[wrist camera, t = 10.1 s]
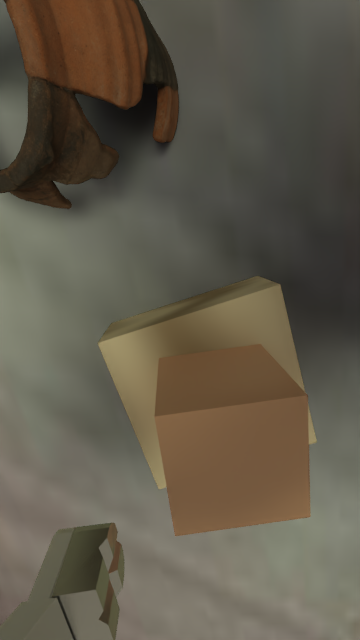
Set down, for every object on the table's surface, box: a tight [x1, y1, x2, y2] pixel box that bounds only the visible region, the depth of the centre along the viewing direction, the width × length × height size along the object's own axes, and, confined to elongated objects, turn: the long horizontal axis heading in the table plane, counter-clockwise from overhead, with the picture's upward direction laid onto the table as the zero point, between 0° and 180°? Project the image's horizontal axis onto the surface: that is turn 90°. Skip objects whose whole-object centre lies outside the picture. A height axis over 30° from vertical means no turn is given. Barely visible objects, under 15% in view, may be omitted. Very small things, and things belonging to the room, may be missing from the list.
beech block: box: [98, 276, 317, 489], centre depth 17 cm, size 9×9×4 cm
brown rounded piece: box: [0, 0, 179, 209], centre depth 12 cm, size 12×10×8 cm
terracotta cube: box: [154, 344, 310, 536], centre depth 13 cm, size 5×5×5 cm
